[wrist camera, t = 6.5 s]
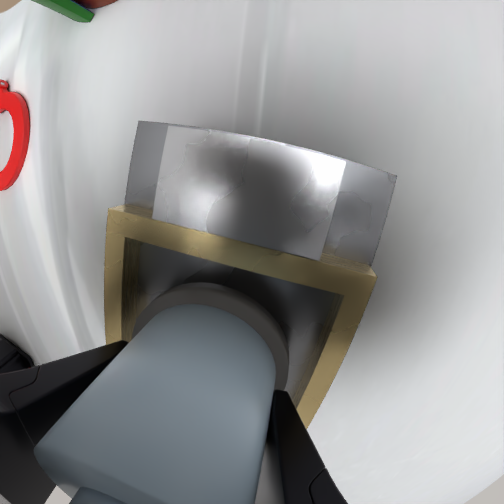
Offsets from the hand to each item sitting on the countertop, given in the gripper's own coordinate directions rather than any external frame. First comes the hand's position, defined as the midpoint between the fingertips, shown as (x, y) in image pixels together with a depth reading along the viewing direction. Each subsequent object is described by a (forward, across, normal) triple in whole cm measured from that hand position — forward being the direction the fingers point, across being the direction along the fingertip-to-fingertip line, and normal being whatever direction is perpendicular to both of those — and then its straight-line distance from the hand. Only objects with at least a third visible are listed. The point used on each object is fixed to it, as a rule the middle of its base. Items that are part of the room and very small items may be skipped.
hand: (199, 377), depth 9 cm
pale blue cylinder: (+1, 0, 0) cm, 1 cm away
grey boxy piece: (+7, 0, 0) cm, 7 cm away
